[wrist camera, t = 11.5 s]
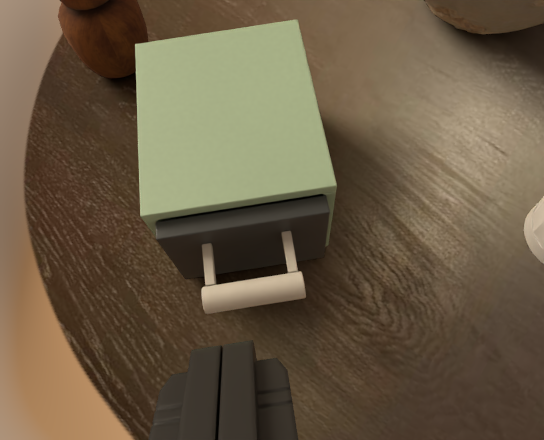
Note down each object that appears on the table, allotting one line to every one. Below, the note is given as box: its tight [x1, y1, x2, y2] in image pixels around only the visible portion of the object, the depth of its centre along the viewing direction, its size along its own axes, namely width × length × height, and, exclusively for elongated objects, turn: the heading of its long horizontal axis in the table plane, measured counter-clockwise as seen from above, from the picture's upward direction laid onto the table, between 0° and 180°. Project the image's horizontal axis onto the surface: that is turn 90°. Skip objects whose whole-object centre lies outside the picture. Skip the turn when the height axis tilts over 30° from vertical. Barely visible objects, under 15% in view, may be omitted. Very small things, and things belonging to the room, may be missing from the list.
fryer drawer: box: [155, 195, 330, 314], centre depth 33 cm, size 17×10×8 cm, turn 8°
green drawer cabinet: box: [135, 20, 337, 246], centre depth 34 cm, size 14×12×10 cm
